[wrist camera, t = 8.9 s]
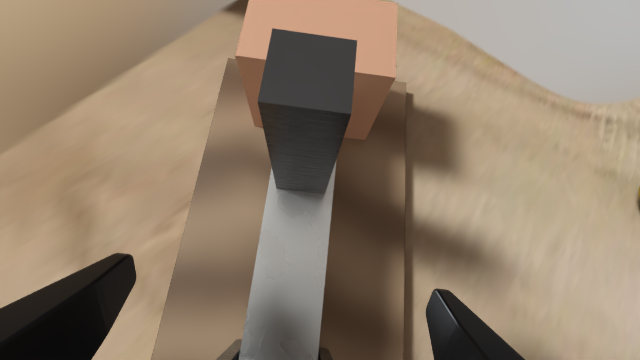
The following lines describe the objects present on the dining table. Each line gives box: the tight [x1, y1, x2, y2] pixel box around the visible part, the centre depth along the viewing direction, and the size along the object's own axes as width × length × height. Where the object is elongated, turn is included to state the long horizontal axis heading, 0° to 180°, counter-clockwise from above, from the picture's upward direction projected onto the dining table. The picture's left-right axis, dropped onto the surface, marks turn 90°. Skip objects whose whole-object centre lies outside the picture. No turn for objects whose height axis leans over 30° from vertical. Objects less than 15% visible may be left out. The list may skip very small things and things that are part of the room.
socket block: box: [235, 0, 397, 140], centre depth 19 cm, size 5×8×7 cm, turn 84°
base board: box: [151, 58, 406, 360], centre depth 18 cm, size 34×14×1 cm, turn 174°
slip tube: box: [239, 28, 357, 360], centre depth 11 cm, size 23×3×11 cm, turn 174°
